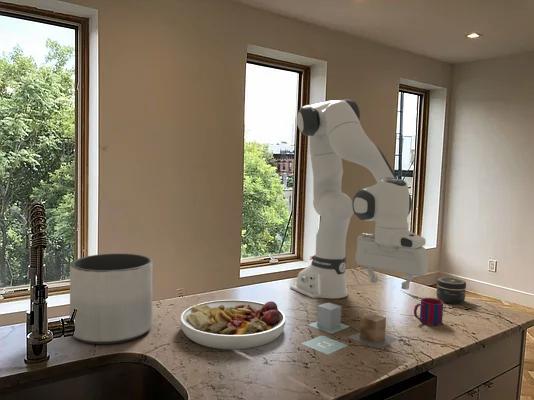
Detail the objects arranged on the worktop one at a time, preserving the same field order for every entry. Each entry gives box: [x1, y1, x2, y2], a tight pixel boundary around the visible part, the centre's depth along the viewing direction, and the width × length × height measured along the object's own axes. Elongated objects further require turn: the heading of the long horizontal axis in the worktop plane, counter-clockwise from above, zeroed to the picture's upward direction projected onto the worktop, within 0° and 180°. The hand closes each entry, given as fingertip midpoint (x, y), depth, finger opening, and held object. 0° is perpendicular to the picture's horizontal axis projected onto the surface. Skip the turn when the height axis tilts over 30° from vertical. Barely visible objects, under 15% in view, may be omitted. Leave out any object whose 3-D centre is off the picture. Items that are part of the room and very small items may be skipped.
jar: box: [436, 276, 467, 305], centre depth 166 cm, size 10×10×8 cm
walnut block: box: [359, 312, 387, 343], centre depth 127 cm, size 5×5×6 cm
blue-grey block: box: [316, 302, 342, 330], centre depth 135 cm, size 5×5×6 cm
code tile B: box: [308, 321, 351, 334], centre depth 135 cm, size 9×9×1 cm
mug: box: [413, 297, 444, 327], centre depth 143 cm, size 7×10×7 cm
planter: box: [69, 253, 154, 345], centre depth 127 cm, size 22×22×20 cm
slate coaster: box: [347, 331, 398, 350], centre depth 127 cm, size 10×10×1 cm
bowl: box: [179, 299, 286, 351], centre depth 130 cm, size 30×30×8 cm
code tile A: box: [300, 335, 349, 356], centre depth 121 cm, size 9×9×1 cm
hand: (389, 285), depth 126 cm, fingers open, 8 cm apart
